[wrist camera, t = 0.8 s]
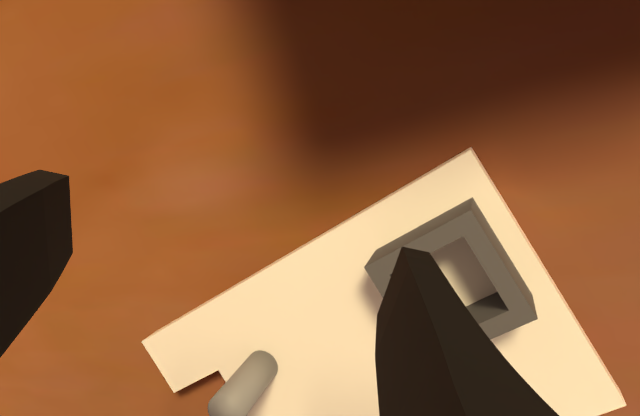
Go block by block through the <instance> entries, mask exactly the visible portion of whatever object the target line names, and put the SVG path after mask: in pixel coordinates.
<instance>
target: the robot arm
mask: <svg viewBox="0 0 640 416" xmlns="http://www.w3.org/2000/svg"><path fill="white" fill-rule="evenodd" d="M72 253H73V248H72V228H71V209H70V190H69V176H67V175H62V174H58V173H53V172H48V171H43V170H37V171H34V172H31V173H28V174H25V175H22V176H19V177H16V178H14V179H11V180H8V181H6V182H3V183H1V184H0V357H1V356H2V355H3V353H4V352H5V351H6V350H7V348H8V347H9V346H10V344H11V343H12V342H13V341H14V339H15V338H16V337H17V335H18V334H19V333H20V332H21V330H22V329H23V328H24V326H25V325H26V324H27V323H28V321H29V320H30V319H31V317H32V316H33V315H34V313H35V312H36V311H37V309H38V308H39V307H40V306H41V304H42V303H43V302H44V300H45V299H46V298H47V296H48V295H49V293H50V292H51V291H52V289H53V287H54V286H55V284H56V282H57V280H58V279H59V277H60V275H61V274H62V272H63V270H64V268H65V266H66V264H67V262H68V261H69V259H70V257H71V255H72ZM375 365H376V379H377V392H378V404H379V416H559V415H558V414H557V413H556V412H555V411H554V410H553V409H552V408H551V407H550V406H549V405H548V404H547V403H546V402H545V401H544V400H543V399H542V398H541V397H540V396H539V395H538V394H537V393H536V392H535V391H534V390H533V388H532V387H531V386H530V385H529V384H528V383H527V382H526V381H525V380H524V379H523V378H522V377H521V376H520V375H519V373H518V372H517V371H516V370H515V369H514V368H513V367H512V366H511V364H510V363H509V362H508V361H507V360H506V359H505V357H504V356H503V355H502V354H501V352H500V351H499V350H498V349H497V347H496V346H495V345H494V344H493V342H492V341H491V340H490V339H489V337H488V336H487V335H486V334H485V332H484V331H483V330H482V328H481V327H480V326H479V324H478V323H477V322H476V320H475V319H474V318H473V316H472V315H471V313H470V312H469V311H468V309H467V308H466V306H465V305H464V303H463V302H462V301H461V299H460V298H459V296H458V295H457V293H456V292H455V290H454V289H453V287H452V286H451V284H450V283H449V281H448V280H447V278H446V277H445V275H444V274H443V272H442V271H441V269H440V267H439V266H438V264H437V263H436V261H435V260H434V258H433V257H432V256H431V254H430V253H429V252H426V251H421V250H416V249H412V248H407V247H401V250H400V253H399V256H398V258H397V261H396V264H395V267H394V269H393V272H392V275H391V278H390V280H389V283H388V286H387V289H386V292H385V294H384V297H383V300H382V303H381V305H380V308H379V311H378V314H377V324H376V342H375Z"/></svg>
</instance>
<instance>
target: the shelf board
mask: <svg viewBox="0 0 640 416" xmlns="http://www.w3.org/2000/svg"><path fill="white" fill-rule="evenodd" d="M472 197H473V199H474V200H475V202H476V204H477V205H478V207H479V208H480V210H481V212H482V213H483V215H484V217H485V218H486V220H487V221H488V223H489V225H490V226H491V228H492V230H493V231H494V233H495V235H496V236H497V238H498V239H499V241H500V243H501V244H502V246H503V248H504V249H505V251H506V252H507V254H508V256H509V257H510V259H511V261H512V262H513V264H514V266H515V267H516V269H517V270H518V272H519V274H520V275H521V277H522V279H523V280H524V282H525V284H526V285H527V287H528V288H529V290H530V292H531V293H532V295H533V300H534V304H535V309H536V313H537V317H538V319H537V320H534V321H532V322H530V323H528V324H525V325H523V326H521V327H518V328H516V329H514V330H511V331H509V332H507V333H504V334H502V335H500V336H498V337H495V338H493V339H491V341H492V342H493V344H494V345H495V346H496V347H497V349H498V350H499V351H500V352H501V354H502V355H503V356H504V357H505V359H506V360H507V361H508V362H509V363H510V364H511V366H512V367H513V368H514V369H515V370H516V371H517V372H518V373H519V375H520V376H521V377H522V378H523V379H524V380H525V381H526V382H527V383H528V384H529V385H530V386H531V387H532V388H533V390H534V391H535V392H536V393H537V394H538V395H539V396H540V397H541V398H542V399H543V400H544V401H545V402H546V403H547V404H548V405H549V406H550V407H551V408H552V409H553V410H554V411H555V412H556V413H557V414H558V415H559V416H598V415H601V414H604V413H607V412H609V411H612V410H615V409H618V408H621V407H624V406H627V405H626V403H625V400H624V398H623V396H622V394H621V391H620V389H619V388H618V386H617V384H616V383H615V381H614V379H613V378H612V376H611V375H610V373H609V371H608V370H607V368H606V366H605V365H604V363H603V361H602V360H601V358H600V357H599V355H598V353H597V352H596V350H595V348H594V347H593V345H592V343H591V342H590V340H589V339H588V337H587V335H586V334H585V332H584V330H583V329H582V327H581V325H580V324H579V322H578V321H577V319H576V317H575V316H574V314H573V312H572V311H571V309H570V307H569V306H568V304H567V303H566V301H565V299H564V298H563V296H562V294H561V293H560V291H559V289H558V288H557V286H556V285H555V283H554V281H553V280H552V278H551V276H550V275H549V273H548V271H547V270H546V268H545V267H544V265H543V263H542V262H541V260H540V258H539V257H538V255H537V253H536V252H535V250H534V249H533V247H532V245H531V244H530V242H529V240H528V239H527V237H526V235H525V234H524V232H523V231H522V229H521V227H520V226H519V224H518V222H517V221H516V219H515V217H514V216H513V214H512V213H511V211H510V209H509V208H508V206H507V204H506V203H505V201H504V199H503V198H502V196H501V195H500V193H499V191H498V190H497V188H496V186H495V185H494V183H493V181H492V180H491V178H490V177H489V175H488V173H487V172H486V170H485V168H484V167H483V165H482V163H481V162H480V160H479V159H478V157H477V155H476V154H475V152H474V150H473V149H472V147H470V148H468V149H467V150H465V151H463V152H461V153H460V154H458V155H456V156H455V157H453V158H451V159H449V160H448V161H446V162H444V163H443V164H441V165H439V166H437V167H436V168H434V169H432V170H431V171H429V172H427V173H426V174H424V175H422V176H420V177H419V178H417V179H415V180H414V181H412V182H410V183H408V184H407V185H405V186H403V187H402V188H400V189H398V190H396V191H395V192H393V193H391V194H390V195H388V196H386V197H384V198H383V199H381V200H379V201H378V202H376V203H374V204H373V205H371V206H369V207H367V208H366V209H364V210H362V211H361V212H359V213H357V214H355V215H354V216H352V217H350V218H349V219H347V220H345V221H343V222H342V223H340V224H338V225H337V226H335V227H333V228H331V229H330V230H328V231H326V232H325V233H323V234H321V235H320V236H318V237H316V238H314V239H313V240H311V241H309V242H308V243H306V244H304V245H302V246H301V247H299V248H297V249H296V250H294V251H292V252H290V253H289V254H287V255H285V256H284V257H282V258H280V259H278V260H277V261H275V262H273V263H272V264H270V265H268V266H267V267H265V268H263V269H261V270H260V271H258V272H256V273H255V274H253V275H251V276H249V277H248V278H246V279H244V280H243V281H241V282H239V283H237V284H236V285H234V286H232V287H231V288H229V289H227V290H226V291H224V292H222V293H220V294H219V295H217V296H215V297H214V298H212V299H210V300H208V301H207V302H205V303H203V304H202V305H200V306H198V307H196V308H195V309H193V310H191V311H190V312H188V313H186V314H184V315H183V316H181V317H179V318H178V319H176V320H174V321H173V322H171V323H169V324H167V325H166V326H164V327H162V328H161V329H159V330H157V331H155V332H154V333H153V334H151V335H150V336H148V337H147V338H146V339H144V340H143V341H142V343H143V345H144V347H145V348H146V350H147V351H148V353H149V354H150V356H151V358H152V359H153V361H154V362H155V364H156V365H157V367H158V368H159V370H160V372H161V373H162V375H163V376H164V378H165V379H166V381H167V383H168V384H169V386H170V387H171V389H172V390H173V392H174V393H175V392H177V391H179V390H181V389H183V388H185V387H186V386H188V385H190V384H192V383H194V382H196V381H198V380H200V379H202V378H204V377H206V376H208V375H210V374H212V373H214V372H216V371H219V372H220V374H221V375H222V377H223V378H224V380H225V382H226V383H225V384H224V385H223V386H222V387H221V388H220V390H219V391H218V392H217V393H216V394H215V395H214V396H213V397H212V399H211V400H210V401H209V404H208V413H209V416H246V415H247V416H379V404H378V392H377V379H376V365H375V342H376V324H377V314H378V311H379V308H380V305H381V303H382V300H383V297H382V296H381V294H380V293H379V291H378V289H377V288H376V286H375V284H374V283H373V281H372V280H371V278H370V276H369V275H368V273H367V272H366V270H365V268H364V266H365V265H366V264H367V262H368V261H369V259H370V258H371V256H372V255H373V253H374V252H375V250H377V249H378V248H380V247H382V246H384V245H386V244H388V243H389V242H391V241H393V240H395V239H397V238H399V237H400V236H402V235H404V234H406V233H408V232H410V231H411V230H413V229H415V228H417V227H419V226H420V225H422V224H424V223H426V222H428V221H430V220H431V219H433V218H435V217H437V216H439V215H441V214H442V213H444V212H446V211H448V210H450V209H452V208H453V207H455V206H457V205H459V204H461V203H463V202H464V201H466V200H468V199H470V198H472ZM430 254H431V256H432V257H433V258H434V260H435V261H436V263H437V264H438V266H439V267H440V269H441V271H442V272H443V274H444V275H445V277H446V278H447V280H448V281H449V283H450V284H451V286H452V287H453V289H454V290H455V292H456V293H457V295H458V296H459V298H460V299H461V301H462V302H463V303H464V305H465V306H468V305H470V304H472V303H474V302H477V301H479V300H481V299H483V298H485V297H487V296H489V295H492V294H494V293H496V292H497V290H496V288H495V287H494V285H493V284H492V282H491V280H490V279H489V277H488V275H487V274H486V272H485V271H484V269H483V267H482V266H481V264H480V262H479V261H478V259H477V258H476V256H475V254H474V253H473V251H472V249H471V248H470V246H469V245H468V243H467V241H466V240H465V238H464V236H463V237H461V238H459V239H457V240H455V241H453V242H451V243H449V244H448V245H446V246H444V247H442V248H440V249H438V250H436V251H434V252H432V253H430Z"/></svg>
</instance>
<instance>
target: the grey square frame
mask: <svg viewBox="0 0 640 416" xmlns="http://www.w3.org/2000/svg"><path fill="white" fill-rule="evenodd" d="M463 236H464V238H465V240H466V241H467V243H468V245H469V246H470V248H471V249H472V251H473V253H474V254H475V256H476V258H477V259H478V261H479V262H480V264H481V266H482V267H483V269H484V271H485V272H486V274H487V275H488V277H489V279H490V280H491V282H492V284H493V285H494V287H495V288H496V290H497V292H496V293H494V294H492V295H489V296H487V297H485V298H483V299H481V300H479V301H477V302H474V303H472V304H470V305H468V306H466V308H467V309H468V311H469V312H470V313H471V315H472V316H473V318H474V319H475V320H476V322H477V323H478V324H479V326H480V327H481V328H482V330H483V331H484V332H485V334H486V335H487V336H488V337H489V339H490V340H491V339H493V338H495V337H498V336H500V335H502V334H504V333H507V332H509V331H511V330H514V329H516V328H518V327H521V326H523V325H525V324H528V323H530V322H532V321H534V320H537V319H538V317H537V313H536V309H535V304H534V300H533V295H532V293H531V292H530V290H529V288H528V287H527V285H526V284H525V282H524V280H523V279H522V277H521V275H520V274H519V272H518V270H517V269H516V267H515V266H514V264H513V262H512V261H511V259H510V257H509V256H508V254H507V252H506V251H505V249H504V248H503V246H502V244H501V243H500V241H499V239H498V238H497V236H496V235H495V233H494V231H493V230H492V228H491V226H490V225H489V223H488V221H487V220H486V218H485V217H484V215H483V213H482V212H481V210H480V208H479V207H478V205H477V204H476V202H475V200H474V199H473V197H472V198H470V199H468V200H466V201H464V202H463V203H461V204H459V205H457V206H455V207H453V208H452V209H450V210H448V211H446V212H444V213H442V214H441V215H439V216H437V217H435V218H433V219H431V220H430V221H428V222H426V223H424V224H422V225H420V226H419V227H417V228H415V229H413V230H411V231H410V232H408V233H406V234H404V235H402V236H400V237H399V238H397V239H395V240H393V241H391V242H389V243H388V244H386V245H384V246H382V247H380V248H378V249H377V250H375V252H374V253H373V255H372V256H371V258H370V259H369V261H368V262H367V264H366V265H365V266H364V268H365V270H366V272H367V273H368V275H369V276H370V278H371V280H372V281H373V283H374V284H375V286H376V288H377V289H378V291H379V293H380V294H381V296H382V297H384V294H385V292H386V289H387V286H388V283H389V280H390V278H391V275H392V272H393V269H394V267H395V264H396V261H397V258H398V256H399V253H400V250H401V247H407V248H412V249H416V250H421V251H426V252H429V253H432V252H434V251H436V250H438V249H440V248H442V247H444V246H446V245H448V244H449V243H451V242H453V241H455V240H457V239H459V238H461V237H463Z"/></svg>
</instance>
